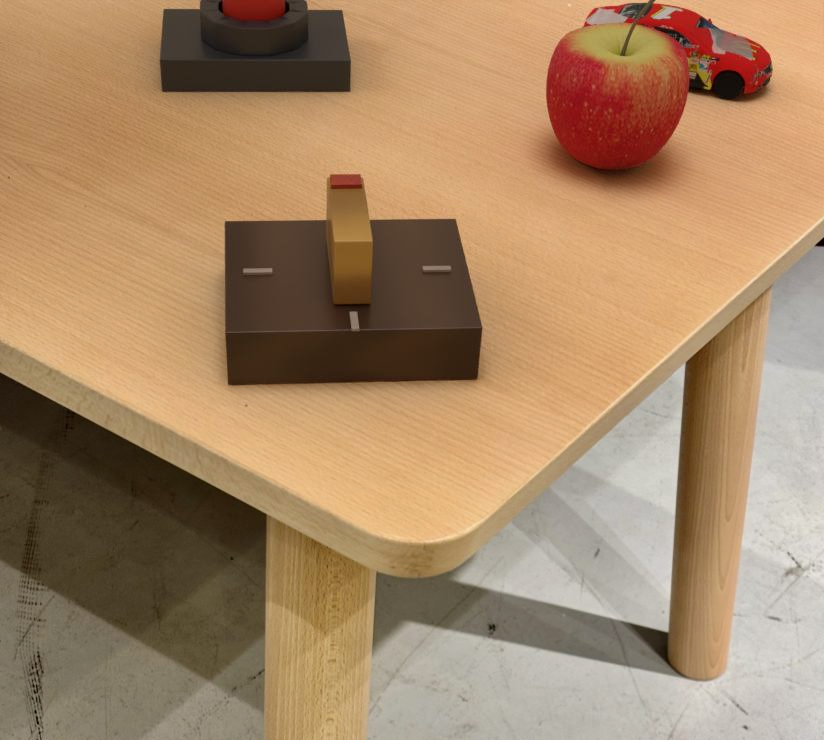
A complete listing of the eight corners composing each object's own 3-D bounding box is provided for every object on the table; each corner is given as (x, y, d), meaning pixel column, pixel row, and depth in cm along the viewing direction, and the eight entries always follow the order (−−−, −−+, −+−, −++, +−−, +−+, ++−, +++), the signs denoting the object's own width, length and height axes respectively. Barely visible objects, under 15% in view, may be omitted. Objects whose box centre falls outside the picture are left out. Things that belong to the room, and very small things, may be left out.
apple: (701, 179, 83) (735, 16, 76) (576, 201, 80) (600, 34, 73) (633, 119, 88) (659, -39, 82) (514, 137, 86) (531, -24, 79)
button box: (162, 92, 88) (157, 31, 85) (165, 40, 94) (161, -19, 91) (350, 92, 89) (351, 32, 87) (342, 40, 95) (343, -18, 92)
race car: (774, 77, 94) (788, 19, 92) (760, 109, 90) (774, 50, 88) (588, 38, 97) (596, -18, 95) (567, 68, 93) (575, 10, 91)
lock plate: (227, 386, 65) (225, 330, 63) (226, 269, 73) (224, 216, 71) (478, 380, 67) (483, 326, 65) (451, 266, 74) (455, 214, 72)
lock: (371, 304, 66) (373, 236, 63) (333, 305, 66) (334, 236, 63) (361, 238, 70) (363, 171, 68) (326, 238, 70) (326, 172, 67)
